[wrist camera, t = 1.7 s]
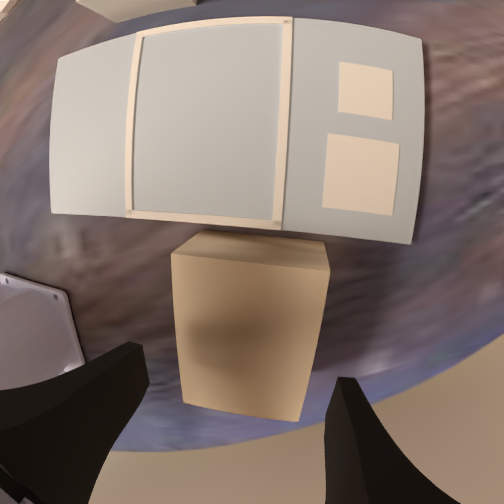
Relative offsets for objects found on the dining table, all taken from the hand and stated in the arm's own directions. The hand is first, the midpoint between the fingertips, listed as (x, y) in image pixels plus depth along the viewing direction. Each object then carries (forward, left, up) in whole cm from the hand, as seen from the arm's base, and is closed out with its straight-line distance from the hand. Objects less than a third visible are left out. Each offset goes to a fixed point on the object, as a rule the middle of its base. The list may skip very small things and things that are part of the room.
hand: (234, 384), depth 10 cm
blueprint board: (-3, +9, -6) cm, 12 cm away
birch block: (0, 0, -6) cm, 6 cm away
